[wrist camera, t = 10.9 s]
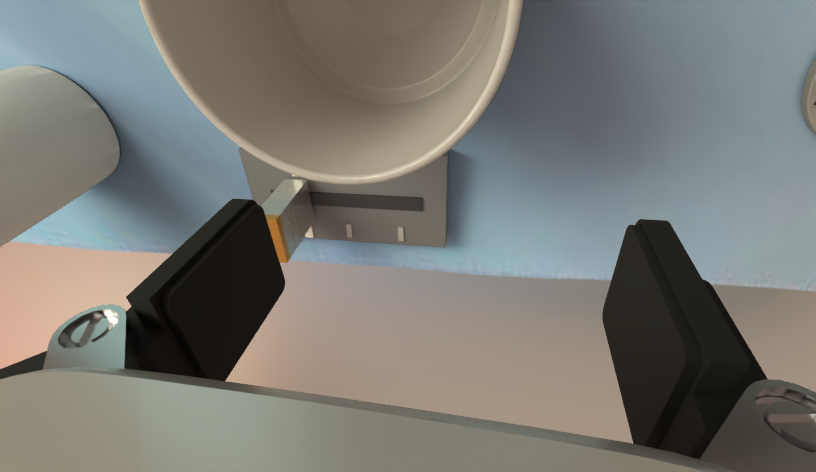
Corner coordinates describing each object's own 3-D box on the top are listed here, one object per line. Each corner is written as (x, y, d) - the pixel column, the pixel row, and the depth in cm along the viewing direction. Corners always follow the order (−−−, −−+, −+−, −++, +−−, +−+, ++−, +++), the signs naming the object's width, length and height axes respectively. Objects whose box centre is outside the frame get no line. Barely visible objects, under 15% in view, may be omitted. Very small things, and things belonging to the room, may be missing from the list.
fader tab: (307, 179, 44) (276, 219, 37) (314, 219, 46) (287, 262, 40) (284, 178, 44) (250, 218, 38) (294, 218, 47) (263, 260, 41)
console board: (448, 148, 42) (446, 157, 40) (446, 237, 48) (445, 248, 46) (247, 142, 45) (237, 149, 43) (270, 225, 51) (262, 235, 50)
